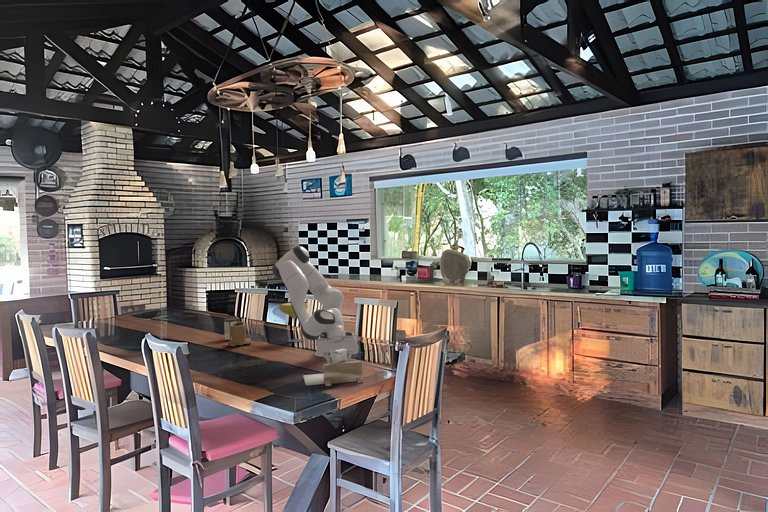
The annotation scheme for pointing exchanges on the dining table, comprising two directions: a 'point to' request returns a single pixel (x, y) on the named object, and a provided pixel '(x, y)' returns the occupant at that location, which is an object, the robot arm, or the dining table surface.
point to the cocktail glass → (288, 309)
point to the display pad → (314, 379)
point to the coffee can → (227, 325)
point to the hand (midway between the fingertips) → (339, 362)
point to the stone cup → (238, 334)
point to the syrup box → (338, 355)
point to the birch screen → (342, 372)
